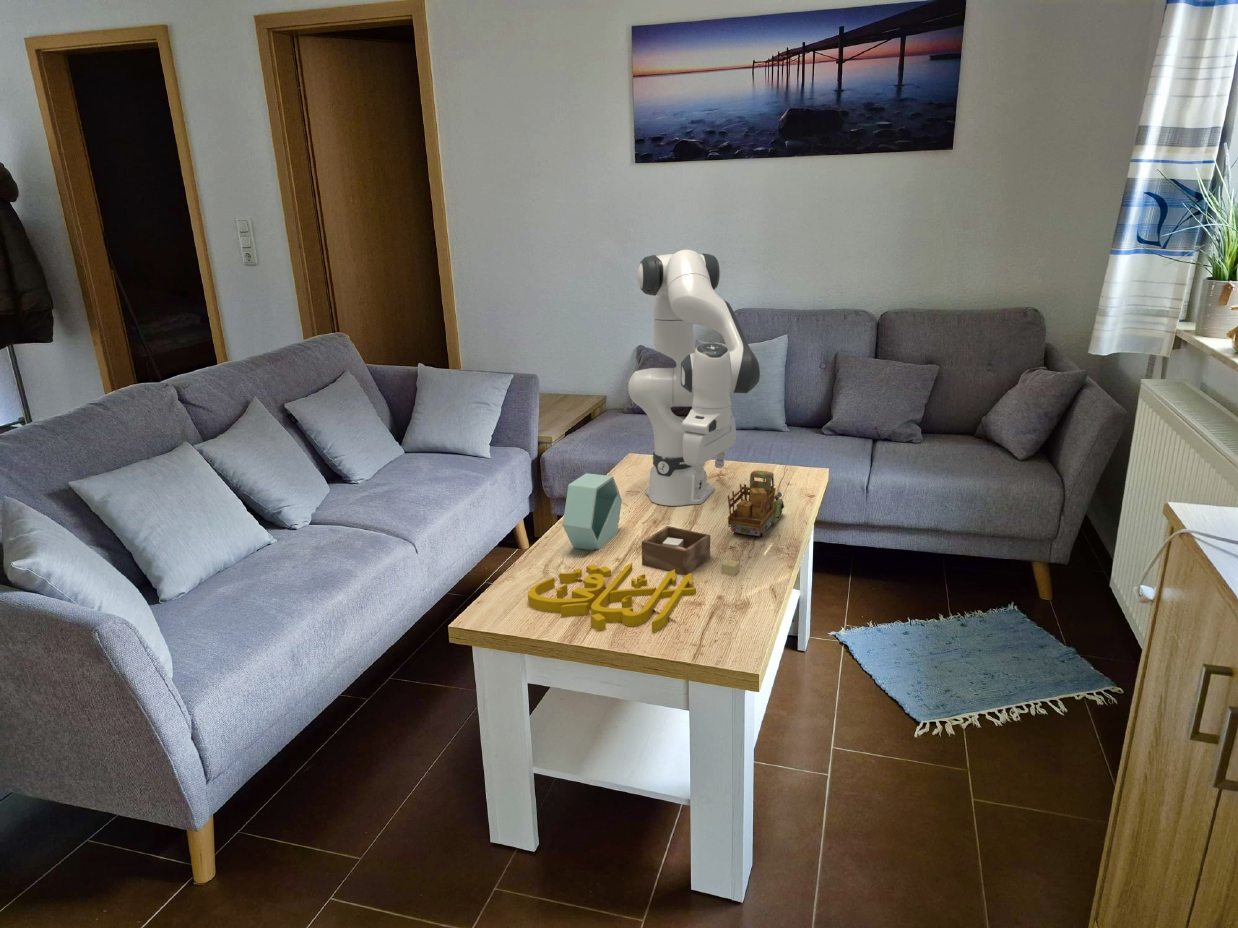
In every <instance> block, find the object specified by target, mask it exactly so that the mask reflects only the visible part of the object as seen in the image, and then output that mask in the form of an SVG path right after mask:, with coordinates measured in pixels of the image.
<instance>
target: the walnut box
mask: <svg viewBox="0 0 1238 928" xmlns="http://www.w3.org/2000/svg"><path fill="white" fill-rule="evenodd" d="M668 537H669V538H676V539H683V548H685V550H683V549H679V548H674V547H670V546H666V545H662V543H663V542H664V541H665V540H666V539H667V538H668ZM710 559H711V534H706V533H702V532H698V531H692V530H689V529H683V528H680V527H679V528H678V527H674V526H669V525H666V526H665V527H662V529H660V530H659V531H657V532H655V533H653V534H652V535H650V536H648V537H646V538H645V539H644V540H642V541H641V565H642V566H644V567H647V568H653V569H655V570H656V569H657V570H660V571H665V572H667V573H668V572H670V571H672V570H674V569H675V575H676V574H677V575H681V576H683V577H684V576H685V575H688V574H690V573H692V572H694V570H696V569H698V568H699V567H700V566H702V565H703V564H704V563H706V562H707V561H708V560H710Z"/></svg>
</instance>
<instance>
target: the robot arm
mask: <svg viewBox="0 0 1238 928" xmlns="http://www.w3.org/2000/svg"><path fill="white" fill-rule="evenodd" d="M636 276H637V282H638V285H639V288H640V290H641V292H643V294H644V295H649V296H653V297H655V298H654V303H653V305H654V306H653V345H654V347H655V350H657V351H658V352H659V353H660V354H662V355H664V356H666V357H668V358H671V359H672V360H674V362H675V364H676V365H675V367H651V368H643V369H639V370H635V371H634V372H633V373H632V375H631V376H630V378H629V379H628V385H627V391H628V394H629V397H630V399H631V401H632V402H633V403H634V404H635V405H637V406H638V407H639V408H641V409H642V410H643V412H644V413H645V414H646V415H647V417H648V419H649V421H650V423H651V426H652V430H653V443H654V444H653V445H654V450H653V452H652V465H653V466H652V467H651V468H650V469H649V479H648V489H645V495H647V496H648V498H649V499H648V500H649V501H650V502H652V503H653V504H654V503H655V504H657V505H661V506H669V507H673V506H674V507H675V506H676V507H678V506H688V505H702V504H703V503H704V502H705V501H706V499H708V498H709V496H710V495H712V494H713V492H714V491H715V486H714V485H712V484H710V483H708V481H707V480H708V478H707V477H708V476H707V471H705V470H704V467H705V465H706V464H705V463H706V462H708V461H709V460H711V459H713V458H715V457H716V459H715V460H714V467H715V468H716V469H723V467H725V460H726V457H727V454H728V449H729V448H731V447H733V446H734V445H735V443H736V441H737V428H736V419H735V417H734V416H733V411H732V400H731V397H730V394H731V393H733V394H748V393H750V391H752V390H753V389H754V388H755V387H756V386H757V385H758V384H759V382H760V379H761V375H760V374H761V370H760V364H759V361H758V359H757V357H756V355H755V354H754V352H753V350H752V349H751V347H750V345H749V343H748V341H747V338H746V336H745V334H744V331H743V330H742V326H741V325H740V323H739V320H738V318H737V316H736V314H735V312H734V309H733V308H732V306H731V304H730V303H729V302H728V301H727V300H725V299H724V298H722V297H721V296H719V295H718V294H717V292H716V291H715V290H716V289H717V288H718V286H719V282H720V279H721V267H720V263H719V261H718V259H717V257H716V255H713V254H711V253H710V254H709V253H704V252H703V253H701V254H700V253H698V252H697V251H695V250H692V249H681V250H679V251H676V252H675V253H667V254H660V255H656V254H652V255H648V256H645V257H644V258H642V260H641V261H640V263H639V265H638V268H637V275H636ZM694 325H698V326H701V327H706V328H709V329H711V330H713V331H714V330H715V331H716V332H717V333H719V334H720V336H722V338H723V341H724V343H725V345H726V346H725V345H723V344H720V343H715V342H707V343H701V344H700V345H698V346H697V347H696V345H695V338H694ZM673 407H691V409H690V411H689V412H688V414H687V416H686V417H685V418H682V417H679V416H678V415H676V414H675V413H673V412H672V410H671V408H673Z"/></svg>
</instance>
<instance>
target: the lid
mask: <svg viewBox="0 0 1238 928" xmlns="http://www.w3.org/2000/svg"><path fill="white" fill-rule="evenodd" d="M738 573H740V561H736V560H733V559H732V560H731V559H727V560H725V561H724V562H723V563H722V564H721V574H722V575H727V576H732V577H735V576H736V575H738Z"/></svg>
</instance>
